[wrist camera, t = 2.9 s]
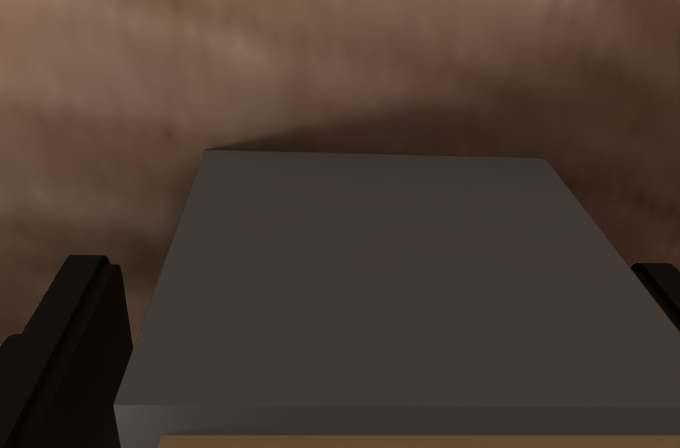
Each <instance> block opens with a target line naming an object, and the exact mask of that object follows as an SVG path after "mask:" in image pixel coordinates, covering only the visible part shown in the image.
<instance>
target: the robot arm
mask: <svg viewBox="0 0 680 448" xmlns="http://www.w3.org/2000/svg"><path fill="white" fill-rule="evenodd" d="M630 269H631V270H632V271H633V273H634V274H635V275H636V276H637V278H638V279H639V280H640V282H641V283H642V284H643V285H644V287H645V288H646V289H647V291H648V292H649V293H650V295H651V296H652V297H653V298H654V300H655V301H656V302H657V304H658V305H659V306H660V307H661V309H662V310H663V311H664V313H665V314H666V315H667V317H668V318H669V319H670V320H671V322H672V323H673V324H674V326H675V327H676V328H677V330H678V331H679V332H680V272H679V271H678V270H677V269H676V268H675V267H674V266H673V265H672V264H667V263H636V264H634V265H632V267H631V268H630ZM132 351H133V345H132V338H131V332H130V325H129V318H128V311H127V305H126V298H125V291H124V285H123V278H122V272H121V268H120V266H119V265H118V264H110V262H109V259H108V257H107V256H105V255H70V256H69V257H68V258H67V259H66V261H65V262H64V264H63V266H62V267H61V269H60V271H59V272H58V274H57V276H56V277H55V279H54V281H53V282H52V284H51V286H50V287H49V289H48V291H47V292H46V294H45V296H44V297H43V299H42V301H41V302H40V304H39V306H38V307H37V309H36V311H35V312H34V314H33V316H32V317H31V319H30V320H29V322H28V324H27V325H26V327H25V329H24V330H23V332H22V334H13V335H11V336H9V337H8V338H7V339H6V340H5V341H4V343H3V344H2V345H1V347H0V448H121V445H120V439H119V434H118V428H117V423H116V417H115V411H114V406H113V404H114V401H115V399H116V396H117V393H118V390H119V387H120V385H121V382H122V379H123V376H124V374H125V371H126V368H127V365H128V362H129V360H130V357H131V354H132Z"/></svg>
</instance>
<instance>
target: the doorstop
mask: <svg viewBox="0 0 680 448" xmlns="http://www.w3.org/2000/svg"><path fill="white" fill-rule="evenodd" d="M113 406H114V411H115V417H116V423H117V428H118V434H119V439H120V445H121V448H680V332H679V331H678V330H677V328H676V327H675V326H674V324H673V323H672V322H671V320H670V319H669V318H668V317H667V315H666V314H665V313H664V311H663V310H662V309H661V307H660V306H659V305H658V304H657V302H656V301H655V300H654V298H653V297H652V296H651V295H650V293H649V292H648V291H647V289H646V288H645V287H644V285H643V284H642V283H641V282H640V280H639V279H638V278H637V276H636V275H635V274H634V273H633V271H632V270H631V269H630V267H629V266H628V265H627V263H626V262H625V261H624V260H623V258H622V257H621V256H620V254H619V253H618V252H617V251H616V249H615V248H614V247H613V245H612V244H611V243H610V241H609V240H608V239H607V238H606V236H605V235H604V234H603V232H602V231H601V230H600V229H599V227H598V226H597V225H596V223H595V222H594V221H593V219H592V218H591V217H590V216H589V214H588V213H587V212H586V210H585V209H584V208H583V207H582V205H581V204H580V203H579V201H578V200H577V199H576V197H575V196H574V195H573V194H572V192H571V191H570V190H569V188H568V187H567V186H566V185H565V183H564V182H563V181H562V179H561V178H560V177H559V175H558V174H557V173H556V172H555V170H554V169H553V168H552V166H551V165H550V164H549V163H548V161H547V160H546V159H545V158H512V157H473V156H434V155H394V154H355V153H316V152H277V151H237V150H205V151H204V154H203V157H202V159H201V162H200V165H199V168H198V170H197V173H196V176H195V179H194V182H193V184H192V187H191V190H190V193H189V196H188V198H187V201H186V204H185V207H184V209H183V212H182V215H181V218H180V221H179V223H178V226H177V229H176V232H175V234H174V237H173V240H172V243H171V246H170V248H169V251H168V254H167V257H166V259H165V262H164V265H163V268H162V271H161V273H160V276H159V279H158V282H157V285H156V287H155V290H154V293H153V296H152V298H151V301H150V304H149V307H148V310H147V312H146V315H145V318H144V321H143V323H142V326H141V329H140V332H139V335H138V337H137V340H136V343H135V346H134V349H133V351H132V354H131V357H130V360H129V362H128V365H127V368H126V371H125V374H124V376H123V379H122V382H121V385H120V387H119V390H118V393H117V396H116V399H115V401H114V404H113Z"/></svg>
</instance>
